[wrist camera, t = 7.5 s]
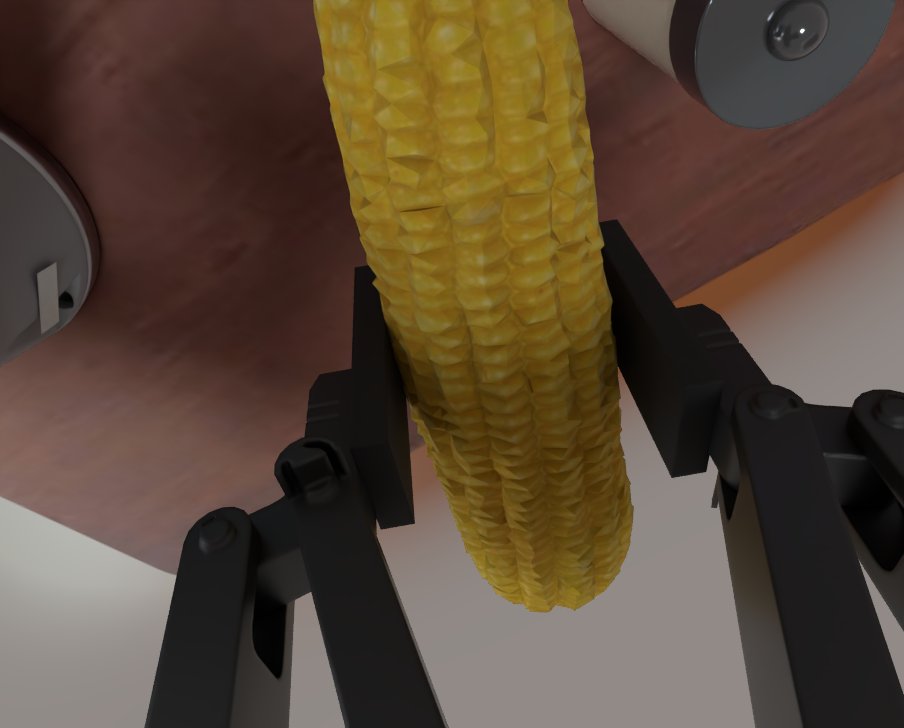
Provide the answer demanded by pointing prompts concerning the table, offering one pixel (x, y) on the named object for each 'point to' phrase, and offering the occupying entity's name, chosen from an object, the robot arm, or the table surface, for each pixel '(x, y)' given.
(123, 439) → the table surface
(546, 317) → the food
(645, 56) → the pepper mill
